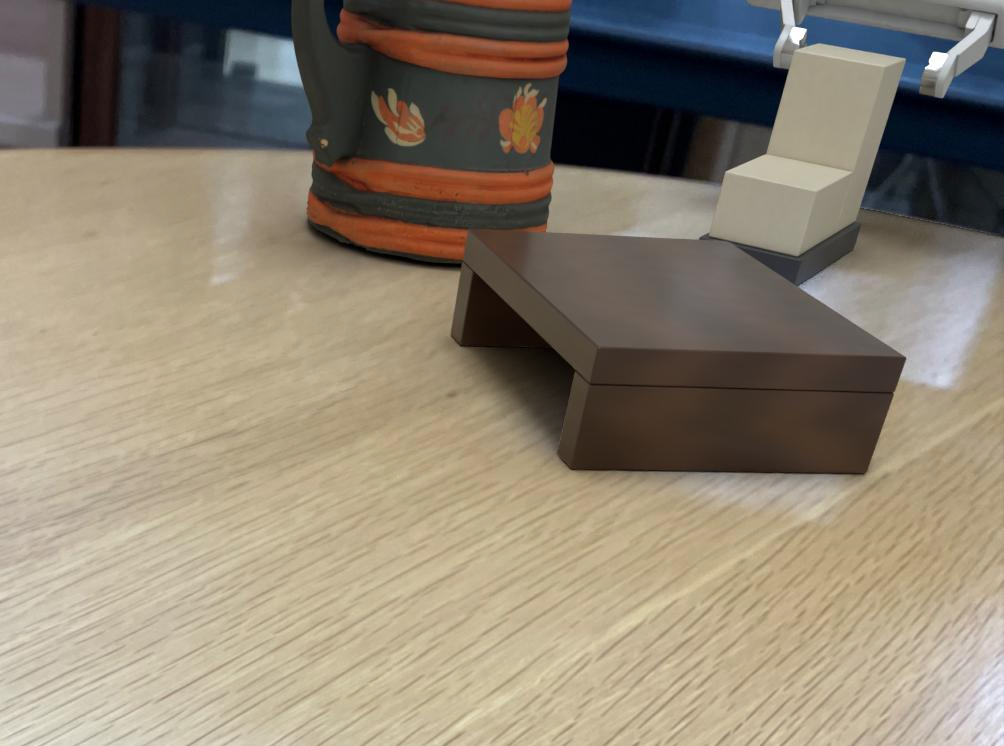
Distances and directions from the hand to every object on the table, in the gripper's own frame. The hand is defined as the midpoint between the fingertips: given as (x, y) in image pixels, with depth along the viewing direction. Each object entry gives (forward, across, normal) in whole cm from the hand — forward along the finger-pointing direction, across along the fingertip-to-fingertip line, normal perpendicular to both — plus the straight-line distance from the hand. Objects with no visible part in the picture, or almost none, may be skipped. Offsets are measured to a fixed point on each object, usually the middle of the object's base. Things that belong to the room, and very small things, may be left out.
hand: (856, 75), depth 96 cm
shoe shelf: (+36, -4, +22) cm, 42 cm away
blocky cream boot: (+12, 0, -1) cm, 12 cm away
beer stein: (+24, +18, +11) cm, 32 cm away
